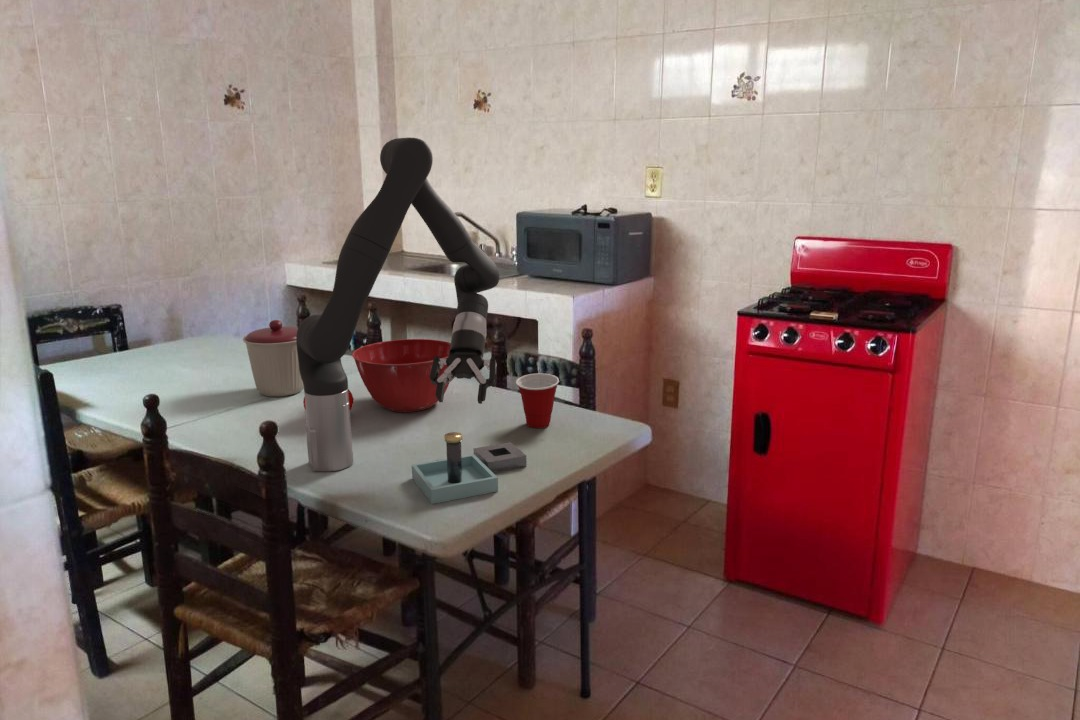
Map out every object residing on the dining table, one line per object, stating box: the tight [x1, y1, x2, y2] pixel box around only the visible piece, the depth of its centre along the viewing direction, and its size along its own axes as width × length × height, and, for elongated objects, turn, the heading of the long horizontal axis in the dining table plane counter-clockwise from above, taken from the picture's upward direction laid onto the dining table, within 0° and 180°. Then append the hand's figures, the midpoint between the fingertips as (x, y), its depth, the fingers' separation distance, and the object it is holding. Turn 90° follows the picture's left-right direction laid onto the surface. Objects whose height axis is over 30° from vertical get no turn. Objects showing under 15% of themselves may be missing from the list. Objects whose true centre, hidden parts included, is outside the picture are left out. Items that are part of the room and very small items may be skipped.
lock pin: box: [444, 431, 463, 484], centre depth 162 cm, size 4×4×10 cm
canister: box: [242, 319, 304, 397], centre depth 224 cm, size 18×18×21 cm
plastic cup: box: [515, 373, 560, 429], centre depth 197 cm, size 11×11×12 cm
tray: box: [411, 453, 499, 505], centre depth 163 cm, size 14×14×3 cm
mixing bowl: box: [351, 338, 452, 413], centre depth 213 cm, size 28×28×15 cm
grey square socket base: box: [473, 441, 527, 473], centre depth 175 cm, size 9×9×2 cm
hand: (460, 401), depth 168 cm, fingers open, 8 cm apart
